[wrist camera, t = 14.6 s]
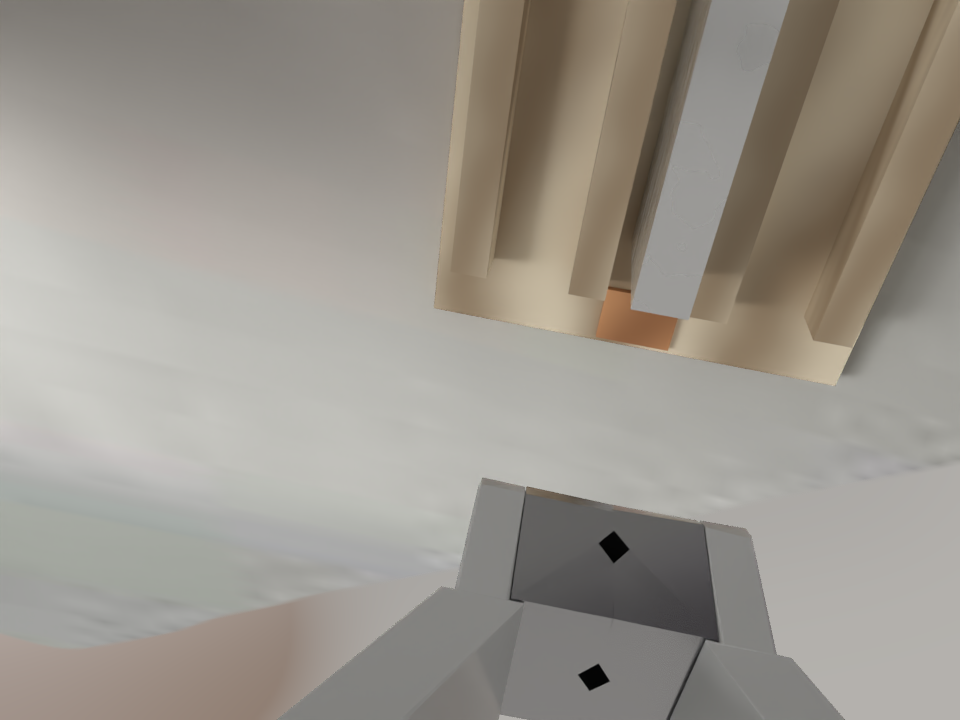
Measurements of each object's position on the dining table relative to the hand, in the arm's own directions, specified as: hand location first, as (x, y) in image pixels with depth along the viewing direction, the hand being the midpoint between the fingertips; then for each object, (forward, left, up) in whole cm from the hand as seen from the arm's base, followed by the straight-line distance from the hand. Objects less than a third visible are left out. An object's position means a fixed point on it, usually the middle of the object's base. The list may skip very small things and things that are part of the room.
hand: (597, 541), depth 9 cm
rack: (+3, 0, -24) cm, 24 cm away
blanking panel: (+3, 0, -23) cm, 23 cm away
